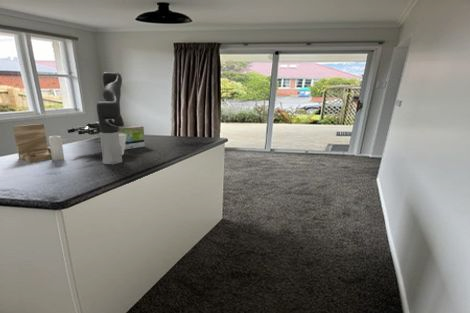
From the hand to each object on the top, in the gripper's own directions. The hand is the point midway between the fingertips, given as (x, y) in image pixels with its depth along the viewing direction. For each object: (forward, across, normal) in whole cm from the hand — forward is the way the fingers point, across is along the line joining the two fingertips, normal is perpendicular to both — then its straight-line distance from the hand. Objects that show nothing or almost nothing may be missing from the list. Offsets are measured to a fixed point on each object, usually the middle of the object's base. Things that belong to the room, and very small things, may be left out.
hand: (73, 132), depth 146 cm
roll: (+12, 0, +14) cm, 18 cm away
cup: (-11, +21, +14) cm, 27 cm away
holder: (+14, -12, +14) cm, 23 cm away
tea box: (-31, +14, +14) cm, 37 cm away
